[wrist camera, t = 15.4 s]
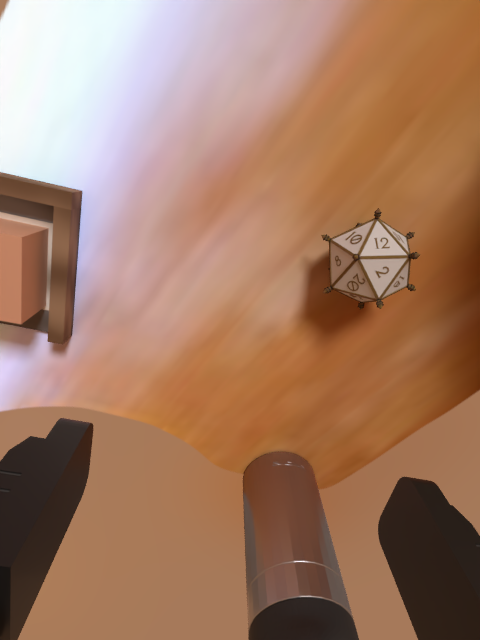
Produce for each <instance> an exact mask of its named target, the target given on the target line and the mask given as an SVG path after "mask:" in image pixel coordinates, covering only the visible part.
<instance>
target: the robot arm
mask: <svg viewBox="0 0 480 640" xmlns="http://www.w3.org/2000/svg"><path fill="white" fill-rule="evenodd" d="M92 437H93V424H92V423H88V422H82V421H76V420H70V419H64V418H61V419H59V420H58V421H57V423H56V424H55V426H54V427H53V428H52V430H51V431H50V433H49V434H48V436H47V437H46V439H44V438H38V437H32V436H30V437H29V438H27V439H26V440H24V441H23V442H21V443H20V444H18V445H17V446H15V447H13V448H12V449H10V450H9V451H8V452H7V454H6V455H5V456H4V458H3V459H2V460H1V461H0V640H17V639H18V637H19V635H20V633H21V630H22V628H23V626H24V624H25V621H26V619H27V617H28V615H29V613H30V610H31V608H32V606H33V604H34V601H35V600H36V597H37V595H38V593H39V591H40V588H41V586H42V584H43V582H44V579H45V577H46V575H47V573H48V570H49V569H50V566H51V564H52V562H53V560H54V557H55V555H56V553H57V551H58V549H59V546H60V544H61V542H62V539H63V538H64V535H65V533H66V531H67V529H68V527H69V524H70V522H71V520H72V518H73V515H74V513H75V511H76V509H77V506H78V504H79V502H80V500H81V498H82V495H83V492H84V489H85V486H86V483H87V479H88V474H89V465H90V456H91V447H92ZM243 499H244V529H245V556H246V580H247V581H246V583H247V603H248V604H247V605H248V631H249V640H359V638H358V635H357V631H356V627H355V624H354V620H353V616H352V613H351V609H350V606H349V602H348V598H347V594H346V590H345V587H344V584H343V580H342V576H341V572H340V569H339V565H338V561H337V558H336V554H335V550H334V547H333V543H332V539H331V535H330V531H329V528H328V524H327V521H326V517H325V513H324V509H323V506H322V502H321V498H320V494H319V490H318V486H317V483H316V479H315V475H314V472H313V469H312V467H311V466H310V464H309V463H308V462H307V461H306V460H305V459H303V458H302V457H300V456H298V455H296V454H292V453H288V452H273V453H269V454H265V455H263V456H261V457H259V458H257V459H256V460H254V461H253V462H252V463H251V464H250V465H249V466H248V467H247V469H246V471H245V473H244V476H243ZM378 534H379V540H380V544H381V547H382V549H383V551H384V554H385V557H386V559H387V562H388V564H389V567H390V569H391V572H392V574H393V577H394V579H395V582H396V584H397V587H398V589H399V592H400V595H401V597H402V600H403V602H404V605H405V607H406V610H407V612H408V615H409V617H410V620H411V622H412V625H413V627H414V630H415V632H416V635H417V638H418V640H480V536H479V535H478V533H477V531H476V530H475V528H474V527H473V525H472V524H471V523H470V522H469V521H468V520H467V519H466V518H465V517H464V516H463V515H462V514H461V513H460V512H459V511H458V510H457V509H456V508H455V507H454V506H452V505H450V504H449V503H448V501H447V499H446V498H445V496H444V495H443V493H442V492H441V490H440V489H439V487H438V486H437V485H436V484H435V483H434V482H432V481H428V480H422V479H416V478H410V477H402V478H400V479H399V481H398V482H397V484H396V486H395V488H394V490H393V492H392V494H391V497H390V498H389V500H388V502H387V504H386V506H385V508H384V510H383V513H382V515H381V517H380V520H379V525H378Z"/></svg>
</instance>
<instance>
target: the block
mask: <svg viewBox="0 0 480 640" xmlns="http://www.w3.org/2000/svg"><path fill="white" fill-rule="evenodd" d="M48 234H49V228H45V227H41V226H36V225H31V224H26V223H22V222H17V221H12V220H7V219H2V218H0V321H5V322H10V323H16V324H23V323H24V322H25V321H27V320H28V319H29V318H30V317H32V316H33V315H34V314H36V313H37V312H38V311H40V310H41V309H42V308H44V307H45V306H46V295H47V264H48Z"/></svg>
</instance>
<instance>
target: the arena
mask: <svg viewBox="0 0 480 640" xmlns="http://www.w3.org/2000/svg"><path fill="white" fill-rule="evenodd" d="M81 201H82V191H80V190H76V189H71V188H67V187H63V186H58V185H54V184H49V183H45V182H41V181H36V180H32V179H28V178H23V177H19V176H15V175H10V174H6V173H1V172H0V218H2V219H7V220H12V221H17V222H22V223H26V224H31V225H36V226H41V227H45V228H49V234H48V264H47V295H46V306H45V307H44V308H42V309H41V310H40V311H38V312H37V313H36V314H34V315H33V316H32V317H30V318H29V319H28V320H27V321H25V322H24V323H23V324H16V323H10V322H5V321H0V323H4V324H9V325H14V326H19V327H25V328H30V329H35V330H41V331H46V332H48V342H53V343H58V344H64V343H65V342H66V340H67V339H68V338H69V337H70V336H71V335H72V328H73V314H74V300H75V286H76V271H77V257H78V243H79V229H80V215H81Z"/></svg>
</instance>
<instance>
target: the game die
mask: <svg viewBox="0 0 480 640" xmlns="http://www.w3.org/2000/svg"><path fill="white" fill-rule="evenodd" d="M381 213H382V212H380V209H379V208H378V209H377V210H376V211H375V214H374V216H375V218H374V219H372V220H370V221H367V222H365V223H363V224H360V223H358V224H357V225H356V227H355V228H352V229H350V230H348V231H346V232H344V233H342V234H340V235H337V236H335V237H333V238H330V237H329V236H327V234H326V235H322V237H323V240H326V241H329V260H330V268H329V270H330V287H327V288H325V290H324V292H323V293H329V292H331V290H332V289H333V290H335V291H337V292H340V293H342V294H344V295H346V296H348V297H350V298H353V299H355V300H357V301H359V302H360V303H359V305H358V307H359V308H360V310H361V309H362V308H364V303H363V302H374V301H377V302H376V304H377V307H378V308H380V309H381V308H382V306H383V305H384V304H383V302H382V301H381V300H382V299H384V298H386V297H388V296H390V295H392V294H394V293H396V292H398V291H400V290H402V289H403V288H405V287H407V288H408V290H410V291H415V290H416V289H415V287H414V286H413V285H412V284H411V285H410V284H409V274H410V263H411V258H412V259H417V258H418V257H419V256H420V254H418V253H417V252H415V253H412V254H411V253H410V248H409V244H408V239H410V238H412V237H414V233H415V232H409V233H408V234H407V235H406V236H404V235H403V234H401V233H400V232H398V231H397V230H395V229H394V228H392V227H391V226H389V225H388V224H386V223H385V222H383V221H382V220H380V219H379V217H380V216H381V215H380V214H381Z"/></svg>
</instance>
